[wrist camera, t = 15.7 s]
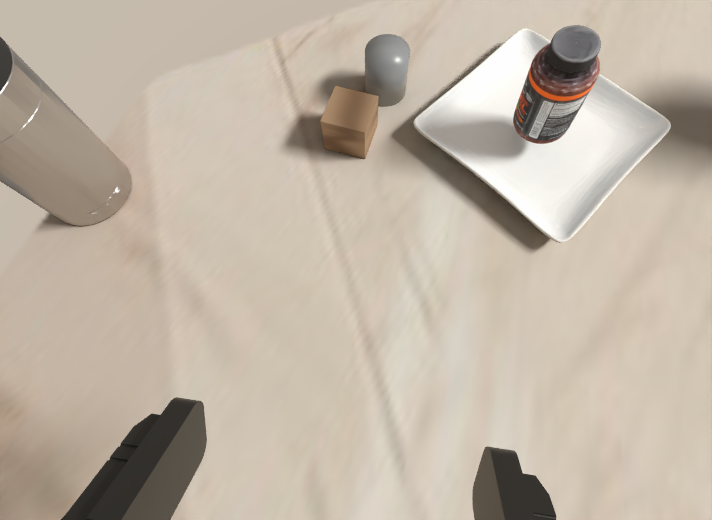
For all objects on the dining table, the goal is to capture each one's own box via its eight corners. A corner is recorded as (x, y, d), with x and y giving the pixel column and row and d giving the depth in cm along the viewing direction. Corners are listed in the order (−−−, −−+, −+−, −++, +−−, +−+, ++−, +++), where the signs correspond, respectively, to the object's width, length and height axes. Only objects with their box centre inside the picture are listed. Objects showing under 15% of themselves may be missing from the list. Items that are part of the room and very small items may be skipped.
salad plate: (659, 139, 49) (679, 120, 46) (550, 257, 45) (565, 245, 41) (516, 44, 55) (525, 21, 52) (405, 141, 50) (408, 122, 47)
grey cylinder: (357, 93, 52) (355, 54, 46) (381, 68, 53) (383, 27, 48) (389, 113, 51) (391, 75, 45) (413, 87, 52) (418, 47, 46)
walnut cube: (324, 148, 49) (320, 121, 45) (338, 115, 51) (335, 85, 46) (364, 159, 49) (364, 132, 44) (377, 125, 50) (378, 96, 46)
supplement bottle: (509, 102, 47) (536, 17, 37) (564, 98, 47) (608, 10, 36) (513, 148, 46) (543, 72, 35) (571, 145, 45) (620, 67, 34)
